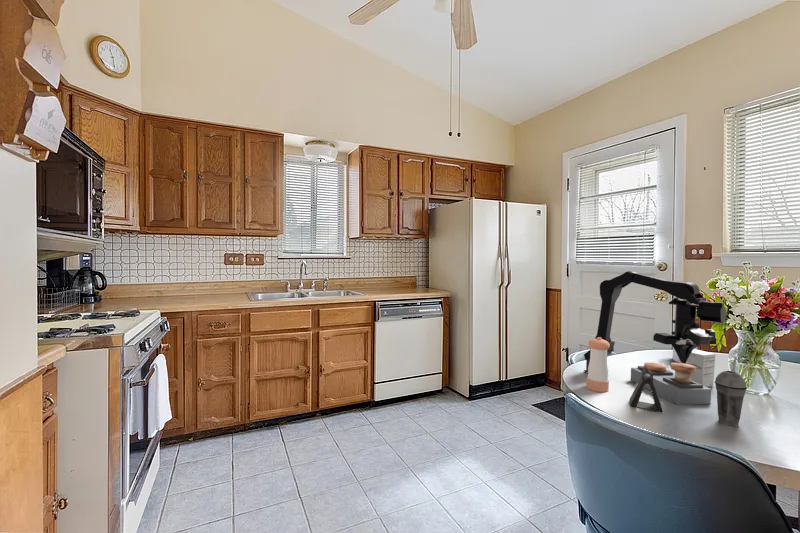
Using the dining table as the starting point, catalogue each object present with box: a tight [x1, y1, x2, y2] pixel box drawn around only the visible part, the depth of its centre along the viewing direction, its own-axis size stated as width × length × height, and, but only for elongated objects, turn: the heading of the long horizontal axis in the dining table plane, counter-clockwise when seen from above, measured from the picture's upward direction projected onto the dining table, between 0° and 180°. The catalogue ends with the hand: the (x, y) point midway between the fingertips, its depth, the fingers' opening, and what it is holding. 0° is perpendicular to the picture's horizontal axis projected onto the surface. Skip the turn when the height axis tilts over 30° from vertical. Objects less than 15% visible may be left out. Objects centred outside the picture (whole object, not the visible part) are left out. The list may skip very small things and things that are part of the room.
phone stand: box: [629, 368, 664, 414], centre depth 123 cm, size 9×6×12 cm, turn 60°
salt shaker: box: [586, 337, 610, 393], centre depth 139 cm, size 7×7×19 cm
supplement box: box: [685, 348, 716, 388], centre depth 145 cm, size 7×7×13 cm
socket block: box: [630, 365, 712, 405], centre depth 137 cm, size 12×23×6 cm, turn 3°
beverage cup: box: [714, 356, 748, 427], centre depth 112 cm, size 7×7×20 cm
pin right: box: [670, 362, 696, 384], centre depth 131 cm, size 7×7×6 cm
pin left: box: [643, 362, 667, 372], centre depth 144 cm, size 7×7×6 cm
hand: (683, 362), depth 131 cm, fingers closed
